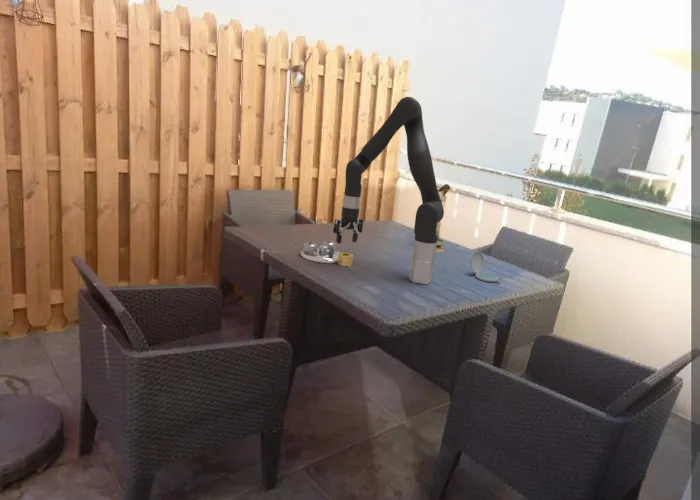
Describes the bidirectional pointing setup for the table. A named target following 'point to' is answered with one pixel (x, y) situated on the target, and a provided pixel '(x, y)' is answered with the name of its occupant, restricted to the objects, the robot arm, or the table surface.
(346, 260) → the planet gear
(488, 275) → the pocket watch
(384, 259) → the table surface
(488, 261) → the table surface
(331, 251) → the carrier
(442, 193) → the statue
